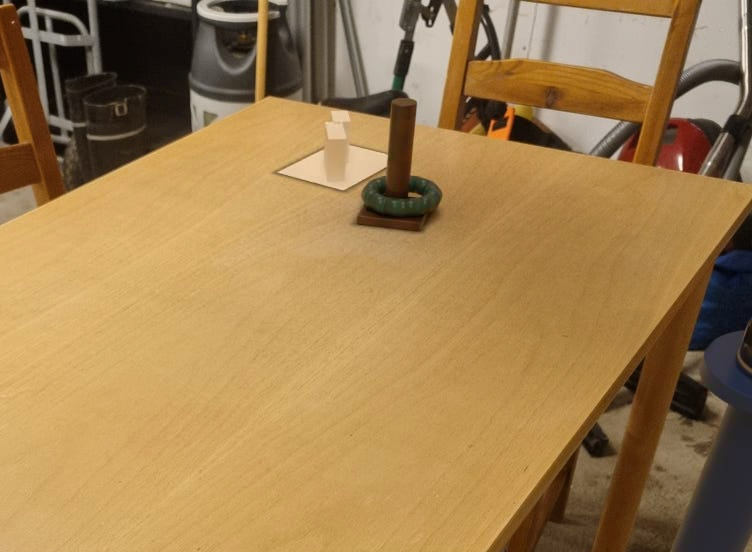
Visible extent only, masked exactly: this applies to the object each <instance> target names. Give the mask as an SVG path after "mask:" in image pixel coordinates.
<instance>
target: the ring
mask: <svg viewBox="0 0 752 552" xmlns="http://www.w3.org/2000/svg"><path fill="white" fill-rule="evenodd" d="M385 182H386V175H381V176H379V177H376V178H374V179H370V180H369V181H367V183H365V185H364V187H363V188H362V190H361V192H360V198H361V201H362V202H363V203H364V205H366V206H367V207H368V208H369V209H371V210H373V211H375V212H378V213H380V214H383V215H389V216H397V217H409V216H420V215H423V214H425V213H428V212H429V213H430V212H433V211H435V210H436V209H437V208H438V207H439V205H440V203H441V202H442V199H443V196H444V195H443V191H442V189H441V188H440V187H439V186H438V185H437V183H436V182H434V181H433V180H430V179H428V178H425V177H423V176H420V175H410V185H409V194H410V193H411V194H416V195H418V196H419V198H411V199H397V198H389V197H386V196H383V195H381V194H385ZM429 213H428V214H429Z"/></svg>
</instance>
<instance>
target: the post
mask: <svg viewBox="0 0 752 552" xmlns="http://www.w3.org/2000/svg"><path fill="white" fill-rule="evenodd" d="M390 104H391V105H390V117H389V130H388V144H387V154H388V155H387V167H386V170H385V176H386V182H385V193H384V194H381V195H383V196H386V197H389V198H397V199H411V198H419V197H420V196H419V197H417V196H410V193H409V185H410V175H411V172H412V165H413V164H412V162H413V153H414V142H415V141H414V140H415V130H416V119H417V109H418V101H417V100H416V99H413V98H411V97H410V98H409V97H398V98H394V99H392V100H391V103H390ZM429 213H430V212H428V213H425V214H423V215H420V216H409V217H397V216H389V215H383V214H380V213H378V212H375V211H373V210H371V209H369V208H368V207H367V206H366V205H365V204H363V206H362V208H361V209H360V211H359V212H358V214H357V216H356V217H357V218H356V224H357V225H364V226H372V227H380V228H390V229H398V230H399V229H400V230H406V231H416V232H420V231H421V230H422V228H423V225H424V223H425V221H426V220H427V217H428V215H429Z"/></svg>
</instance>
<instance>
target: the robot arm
mask: <svg viewBox="0 0 752 552" xmlns="http://www.w3.org/2000/svg"><path fill="white" fill-rule="evenodd" d="M746 330H747V331H746ZM745 333H746V334H745ZM745 333H744V337H743V340H742V343H741V346H740V347H739V349H738V352H737V355H736V359H735V360H736V364H737V366H738V367H739V369H740V370H741V371H742V372H743V373H744V374H746V375H747V376H748V377H750V378H752V317H751V318H750V320H749V321H748V322H747V325H746V328H745Z"/></svg>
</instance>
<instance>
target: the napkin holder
mask: <svg viewBox="0 0 752 552" xmlns="http://www.w3.org/2000/svg"><path fill="white" fill-rule="evenodd" d="M329 119H330V120H329V121H325V122H324V142H323V144H324V145H323V149H321V150H319V151H317V152H315V153H313V154H311V155H309V156H307V157H305V158H303V159H301V160H299V161H297V162H295V163H293V164H290V165H289V166H287V167H285V168H283V169H281V170H279V171H277V173H278V174H280V175H285V176H288V177H291V178H296V179H300V180H303V181H306V182H311V183H314V184H318V185H321V186H325V187H329V188H333V189H336V190H340V191H346V190H348V189H349V188H351V187H353V186H354V185H357V184H359V183H360V182H362V181H363V180H366V179H367V178H369V177H371V176H373V175H375V174H376V173H378V172H380V171H382V170H383V169H385V168H387V155H388V153H383V152H379V151H376V150H372V149H367V148H364V147H359V146H356V145H355V146H354V145H351V144H350V140H351V138H350V137H351V118H350V115H349V112H348V110H330V118H329Z"/></svg>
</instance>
